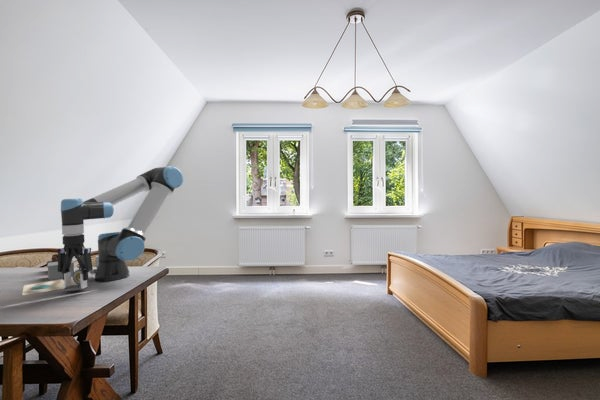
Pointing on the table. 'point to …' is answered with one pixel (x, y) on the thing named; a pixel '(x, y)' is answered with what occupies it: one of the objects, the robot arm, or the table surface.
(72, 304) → the table surface
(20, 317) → the table surface
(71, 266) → the block
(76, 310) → the table surface
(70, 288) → the pocket watch
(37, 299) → the table surface
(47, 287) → the board
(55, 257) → the wooden carving
